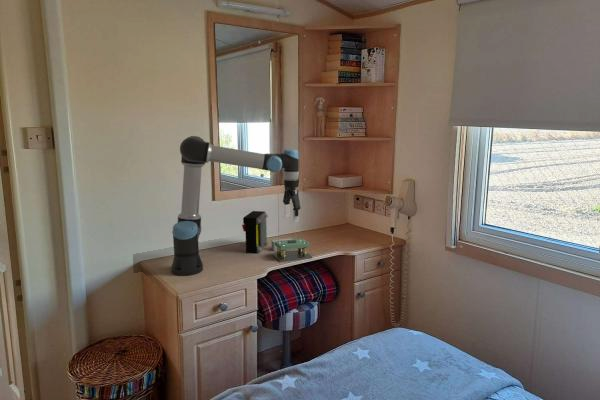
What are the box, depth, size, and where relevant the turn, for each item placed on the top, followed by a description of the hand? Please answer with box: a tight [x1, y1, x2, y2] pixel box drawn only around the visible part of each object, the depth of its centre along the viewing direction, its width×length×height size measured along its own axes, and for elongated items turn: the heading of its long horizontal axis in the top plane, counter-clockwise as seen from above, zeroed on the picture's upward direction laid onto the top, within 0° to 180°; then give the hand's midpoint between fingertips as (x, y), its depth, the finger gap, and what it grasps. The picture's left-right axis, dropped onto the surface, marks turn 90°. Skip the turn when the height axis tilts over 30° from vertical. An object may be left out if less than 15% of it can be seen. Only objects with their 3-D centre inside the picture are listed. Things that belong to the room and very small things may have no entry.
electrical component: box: [241, 210, 269, 255], centre depth 246 cm, size 18×10×20 cm, turn 168°
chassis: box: [272, 238, 313, 263], centre depth 233 cm, size 18×13×8 cm
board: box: [275, 238, 310, 251], centre depth 232 cm, size 16×10×3 cm, turn 111°
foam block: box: [271, 237, 293, 252], centre depth 247 cm, size 12×5×5 cm, turn 111°
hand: (291, 219), depth 230 cm, fingers open, 13 cm apart
